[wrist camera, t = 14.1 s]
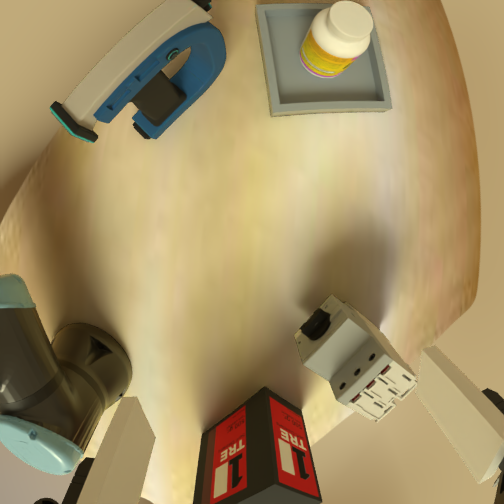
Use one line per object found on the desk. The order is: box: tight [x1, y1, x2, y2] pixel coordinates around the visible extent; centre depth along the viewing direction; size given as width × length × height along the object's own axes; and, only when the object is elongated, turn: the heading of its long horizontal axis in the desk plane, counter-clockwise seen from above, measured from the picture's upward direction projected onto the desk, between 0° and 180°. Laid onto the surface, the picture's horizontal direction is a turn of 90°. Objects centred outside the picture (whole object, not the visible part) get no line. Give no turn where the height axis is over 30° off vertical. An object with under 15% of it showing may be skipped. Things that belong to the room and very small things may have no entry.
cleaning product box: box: [193, 387, 322, 504], centre depth 41 cm, size 16×9×20 cm, turn 137°
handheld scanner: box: [50, 0, 226, 143], centre depth 28 cm, size 5×16×20 cm, turn 134°
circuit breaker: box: [294, 294, 417, 423], centre depth 39 cm, size 8×14×15 cm, turn 51°
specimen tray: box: [255, 3, 392, 117], centre depth 35 cm, size 16×16×3 cm
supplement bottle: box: [299, 0, 373, 78], centre depth 30 cm, size 7×7×13 cm
